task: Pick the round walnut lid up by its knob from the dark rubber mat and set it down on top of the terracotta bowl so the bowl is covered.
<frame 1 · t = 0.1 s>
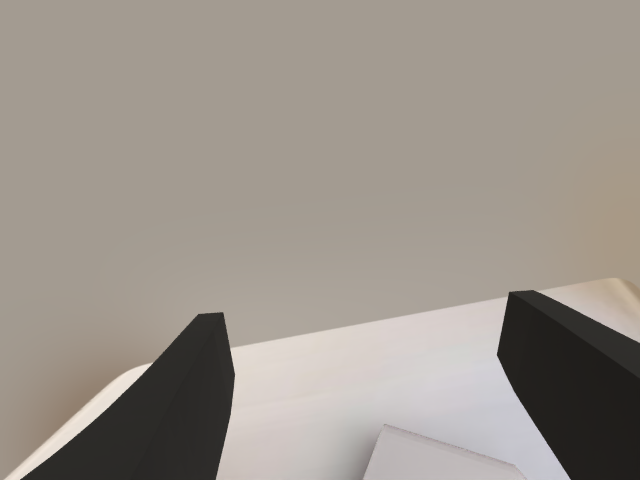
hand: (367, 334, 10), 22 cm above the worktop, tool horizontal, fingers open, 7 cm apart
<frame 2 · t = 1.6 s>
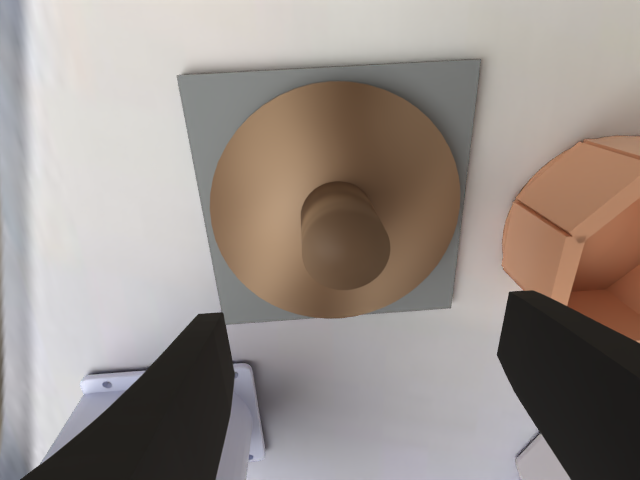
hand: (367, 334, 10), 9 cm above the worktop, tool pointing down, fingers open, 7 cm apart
charger: (569, 453, 28), on the worktop
bowl: (588, 224, 20), on the worktop
lid: (335, 209, 18), point 1 cm above the worktop, touching mat
mat: (334, 205, 18), on the worktop
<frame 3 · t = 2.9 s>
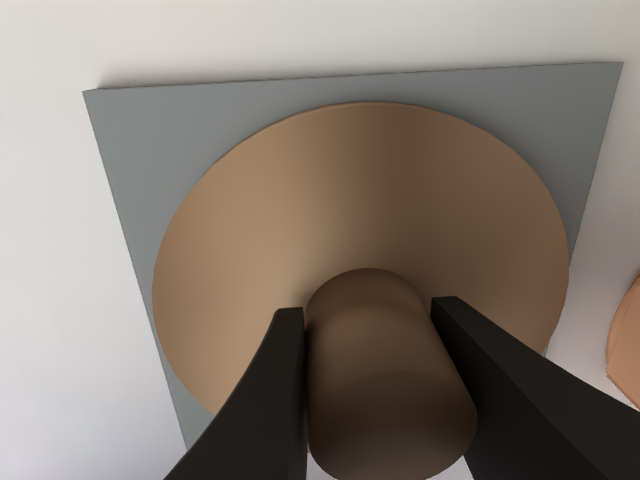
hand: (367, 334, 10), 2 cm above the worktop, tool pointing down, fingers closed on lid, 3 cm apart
lid: (359, 302, 11), point 1 cm above the worktop, touching gripper, mat
mat: (356, 291, 12), on the worktop
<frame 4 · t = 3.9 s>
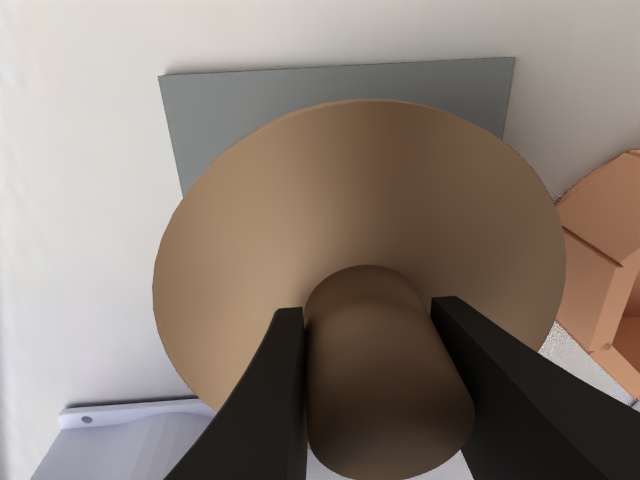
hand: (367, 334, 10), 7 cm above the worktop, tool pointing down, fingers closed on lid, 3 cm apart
bowl: (628, 245, 17), on the worktop
lid: (358, 299, 11), point 5 cm above the worktop, touching gripper
mat: (340, 224, 16), on the worktop
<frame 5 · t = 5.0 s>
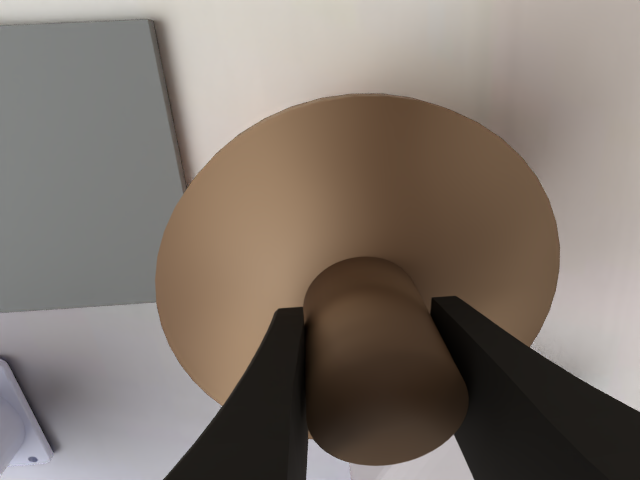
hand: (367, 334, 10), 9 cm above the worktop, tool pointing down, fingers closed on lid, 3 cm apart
charger: (415, 445, 26), on the worktop
lid: (356, 291, 11), point 7 cm above the worktop, touching gripper
mat: (44, 185, 17), on the worktop
when the fingers open (7 cm above the worktop, at t = 5.8 s): lid stays where it is, resting on bowl.
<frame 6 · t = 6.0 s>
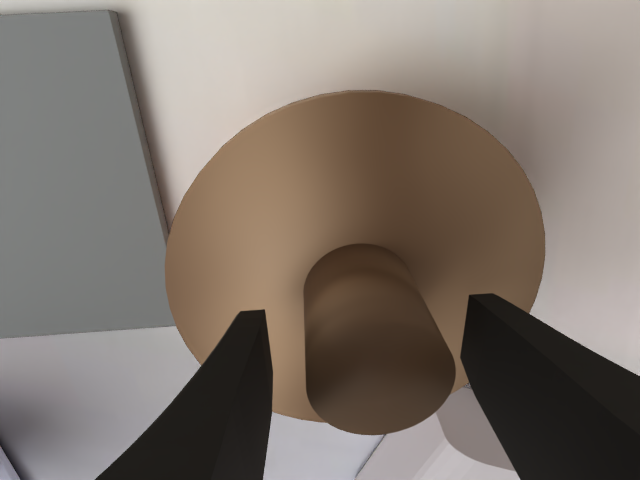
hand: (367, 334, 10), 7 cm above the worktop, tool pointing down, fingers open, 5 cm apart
charger: (423, 472, 24), on the worktop
lid: (354, 278, 12), point 4 cm above the worktop, touching bowl
mat: (0, 200, 15), on the worktop
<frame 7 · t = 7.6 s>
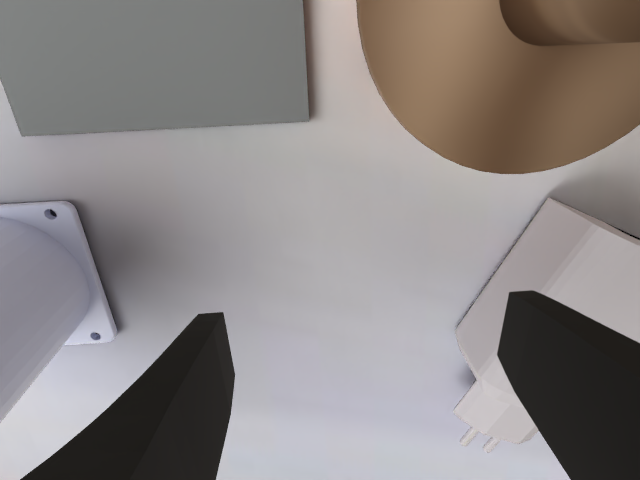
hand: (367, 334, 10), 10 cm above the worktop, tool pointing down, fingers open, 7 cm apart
charger: (523, 328, 23), on the worktop
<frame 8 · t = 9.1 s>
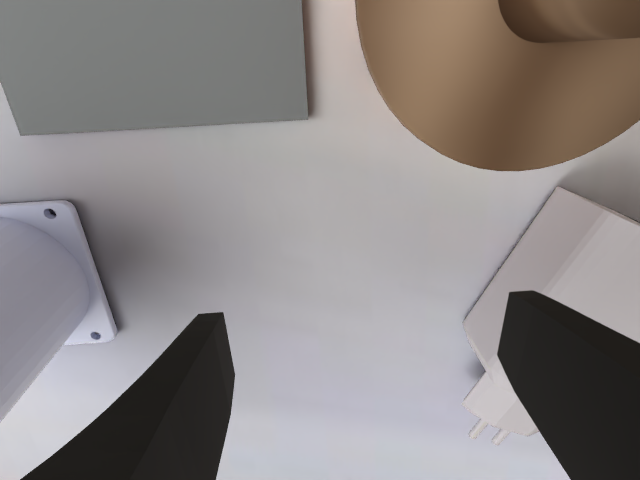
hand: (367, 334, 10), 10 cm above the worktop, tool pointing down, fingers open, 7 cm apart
charger: (532, 319, 23), on the worktop
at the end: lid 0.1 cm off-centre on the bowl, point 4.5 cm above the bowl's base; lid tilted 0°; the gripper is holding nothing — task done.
